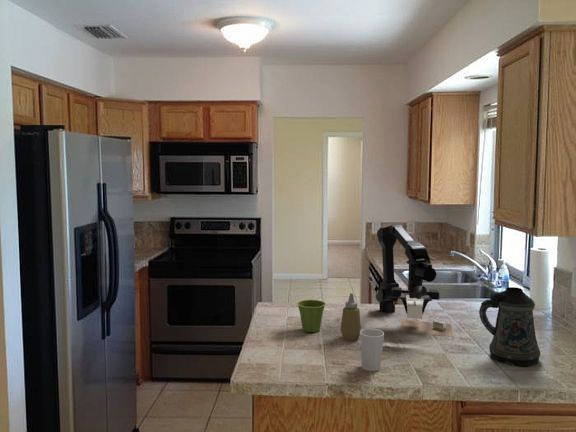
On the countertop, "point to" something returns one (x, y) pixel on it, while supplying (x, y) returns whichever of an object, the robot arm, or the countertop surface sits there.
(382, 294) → the robot arm
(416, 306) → the white slotted box
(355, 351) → the countertop surface
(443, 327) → the white wooden block
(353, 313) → the squeeze bottle
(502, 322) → the beer stein
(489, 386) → the countertop surface
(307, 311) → the plant pot
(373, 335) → the cup
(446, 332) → the base board
